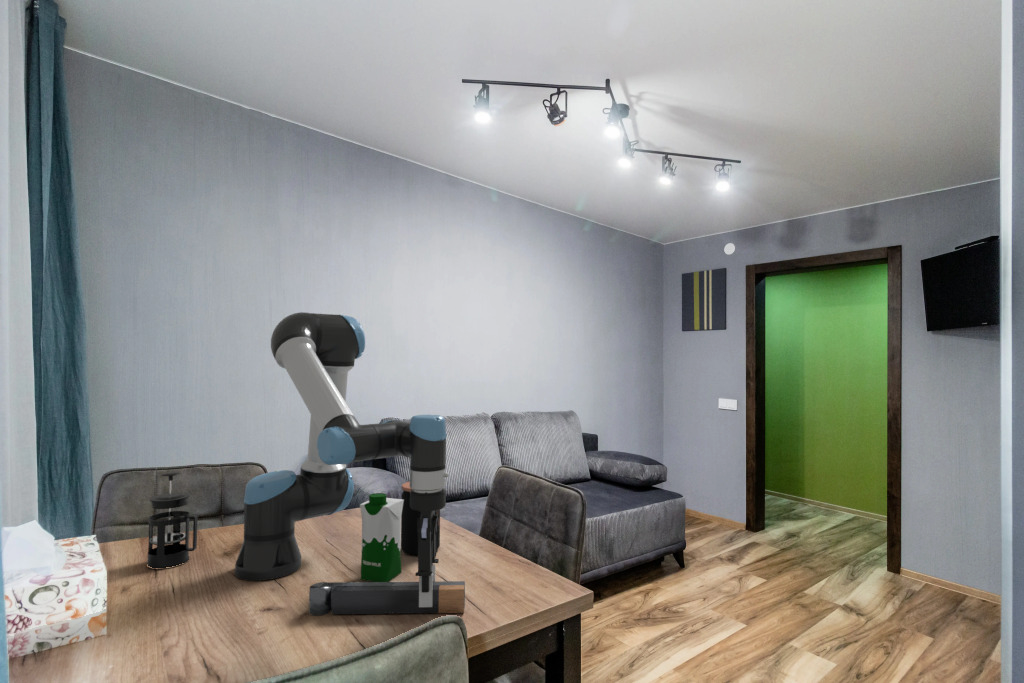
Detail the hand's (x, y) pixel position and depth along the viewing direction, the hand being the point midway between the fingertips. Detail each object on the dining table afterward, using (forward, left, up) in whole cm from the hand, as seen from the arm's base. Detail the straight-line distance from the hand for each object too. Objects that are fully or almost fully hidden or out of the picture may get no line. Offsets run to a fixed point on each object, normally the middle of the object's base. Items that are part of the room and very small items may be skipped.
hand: (427, 600), depth 113 cm
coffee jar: (-6, +36, -2) cm, 37 cm away
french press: (-69, +28, -2) cm, 75 cm away
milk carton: (-13, +18, -2) cm, 22 cm away
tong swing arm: (-6, -1, -2) cm, 6 cm away
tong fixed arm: (-8, 0, -2) cm, 9 cm away
